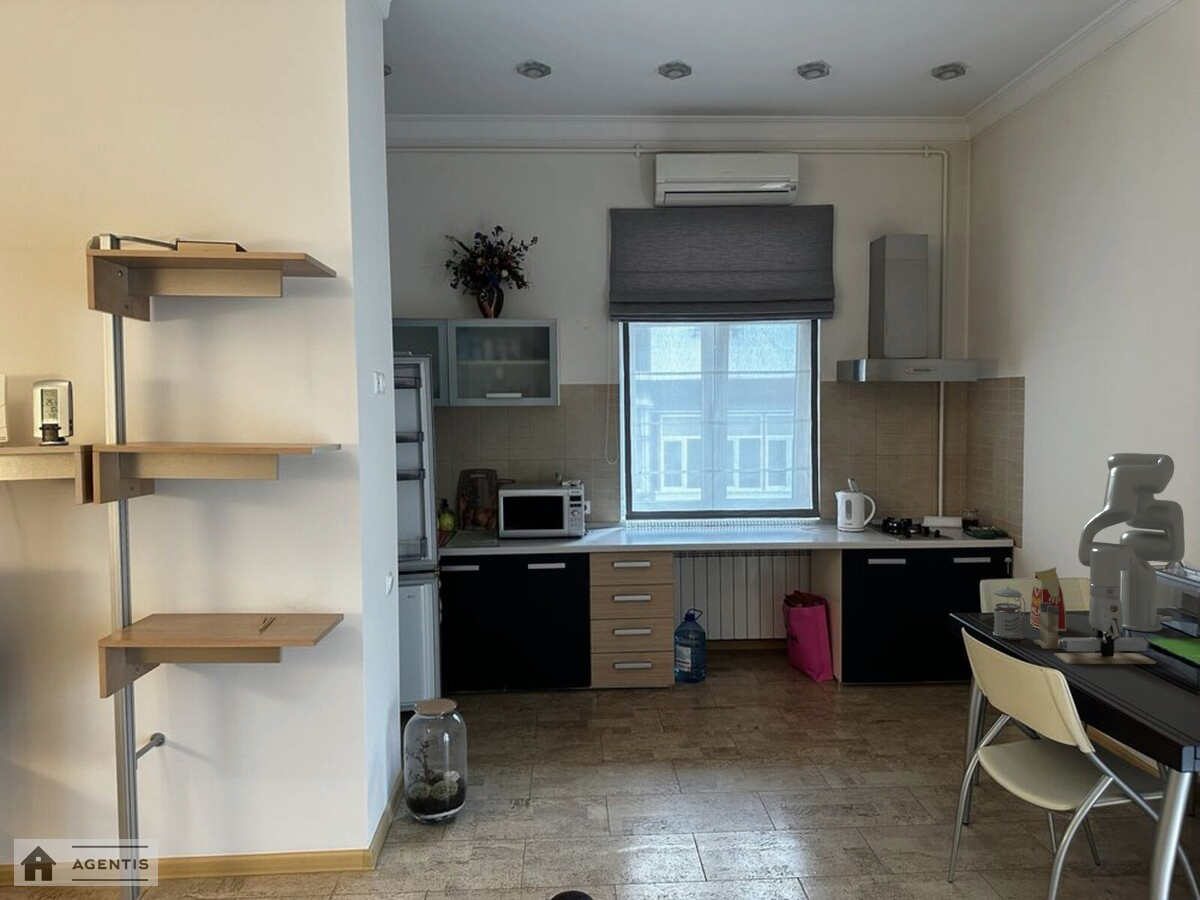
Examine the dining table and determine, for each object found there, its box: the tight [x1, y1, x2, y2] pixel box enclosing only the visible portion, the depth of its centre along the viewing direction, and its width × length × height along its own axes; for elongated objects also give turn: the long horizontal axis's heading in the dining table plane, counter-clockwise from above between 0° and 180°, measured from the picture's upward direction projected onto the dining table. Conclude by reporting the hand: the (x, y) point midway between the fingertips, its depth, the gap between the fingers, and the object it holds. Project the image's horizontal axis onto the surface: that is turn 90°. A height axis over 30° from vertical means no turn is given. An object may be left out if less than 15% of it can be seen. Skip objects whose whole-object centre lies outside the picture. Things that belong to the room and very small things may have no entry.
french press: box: [992, 557, 1026, 638], centre depth 269 cm, size 10×12×25 cm
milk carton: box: [1029, 566, 1067, 632], centre depth 278 cm, size 9×9×20 cm
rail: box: [1059, 636, 1150, 652], centre depth 244 cm, size 24×3×3 cm, turn 87°
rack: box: [1033, 603, 1121, 649], centre depth 257 cm, size 24×6×12 cm, turn 87°
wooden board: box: [1053, 652, 1157, 665], centre depth 244 cm, size 24×8×1 cm, turn 87°
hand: (1104, 653), depth 244 cm, fingers closed on rail, 3 cm apart
